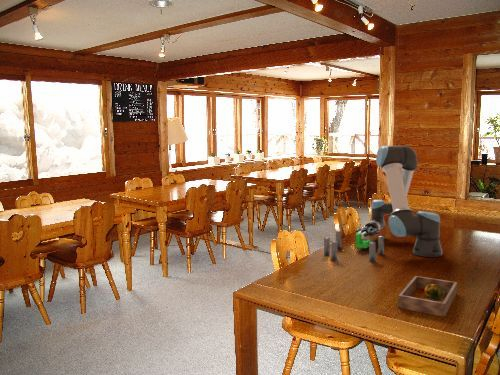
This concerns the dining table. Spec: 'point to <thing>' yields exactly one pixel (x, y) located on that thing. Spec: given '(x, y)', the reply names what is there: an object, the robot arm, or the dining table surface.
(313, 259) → the dining table surface
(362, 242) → the mechanical part
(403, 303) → the wooden tray
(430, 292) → the christmas decoration
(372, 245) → the spacer posts
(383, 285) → the dining table surface
